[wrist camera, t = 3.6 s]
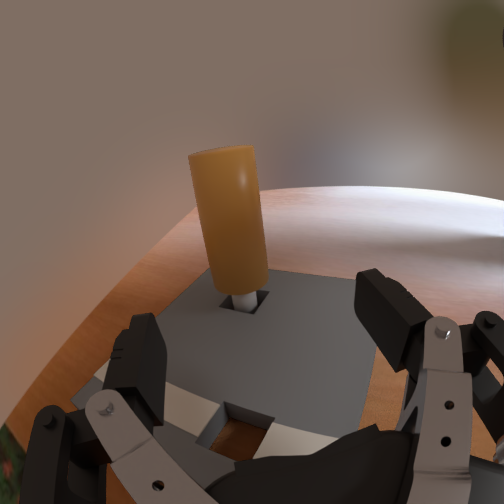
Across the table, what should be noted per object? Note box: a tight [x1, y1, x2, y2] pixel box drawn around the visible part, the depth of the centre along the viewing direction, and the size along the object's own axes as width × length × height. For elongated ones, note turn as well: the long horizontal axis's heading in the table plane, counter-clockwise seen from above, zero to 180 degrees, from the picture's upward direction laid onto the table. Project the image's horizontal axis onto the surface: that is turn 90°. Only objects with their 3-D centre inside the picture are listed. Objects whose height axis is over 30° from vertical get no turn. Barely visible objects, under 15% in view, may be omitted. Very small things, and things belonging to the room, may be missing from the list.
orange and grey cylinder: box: [188, 145, 269, 315], centre depth 21 cm, size 4×4×14 cm
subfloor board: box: [70, 268, 377, 489], centre depth 19 cm, size 20×17×2 cm
